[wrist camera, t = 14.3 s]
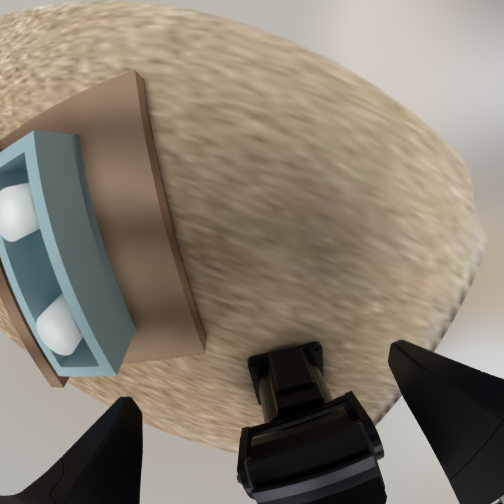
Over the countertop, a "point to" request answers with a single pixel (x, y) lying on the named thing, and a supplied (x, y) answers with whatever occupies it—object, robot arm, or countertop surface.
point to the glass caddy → (60, 257)
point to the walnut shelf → (122, 221)
